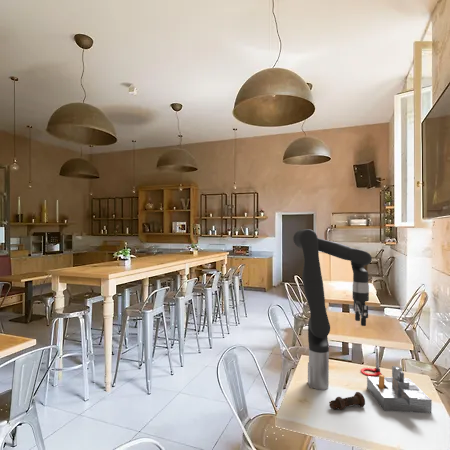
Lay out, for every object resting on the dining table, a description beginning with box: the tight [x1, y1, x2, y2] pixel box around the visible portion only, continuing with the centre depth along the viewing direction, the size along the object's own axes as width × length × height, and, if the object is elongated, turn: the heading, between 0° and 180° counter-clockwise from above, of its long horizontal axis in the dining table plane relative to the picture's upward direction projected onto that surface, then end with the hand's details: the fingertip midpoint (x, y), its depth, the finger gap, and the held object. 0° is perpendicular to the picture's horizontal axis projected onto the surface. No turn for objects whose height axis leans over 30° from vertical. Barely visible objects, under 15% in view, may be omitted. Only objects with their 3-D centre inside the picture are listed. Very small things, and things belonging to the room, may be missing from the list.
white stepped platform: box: [366, 365, 433, 414], centre depth 141 cm, size 19×24×14 cm
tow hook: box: [360, 348, 383, 377], centre depth 170 cm, size 8×13×9 cm
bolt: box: [328, 391, 366, 411], centre depth 137 cm, size 6×5×15 cm
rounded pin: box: [378, 374, 385, 389], centre depth 144 cm, size 2×2×10 cm
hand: (360, 323), depth 162 cm, fingers open, 8 cm apart
